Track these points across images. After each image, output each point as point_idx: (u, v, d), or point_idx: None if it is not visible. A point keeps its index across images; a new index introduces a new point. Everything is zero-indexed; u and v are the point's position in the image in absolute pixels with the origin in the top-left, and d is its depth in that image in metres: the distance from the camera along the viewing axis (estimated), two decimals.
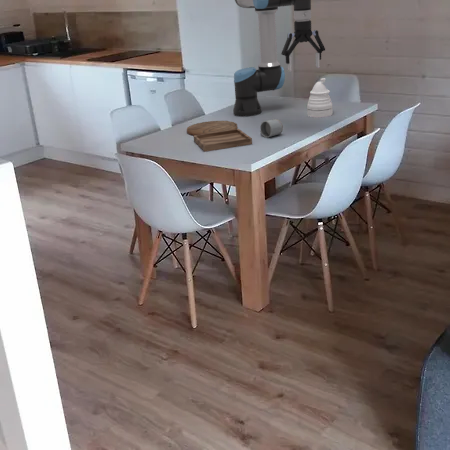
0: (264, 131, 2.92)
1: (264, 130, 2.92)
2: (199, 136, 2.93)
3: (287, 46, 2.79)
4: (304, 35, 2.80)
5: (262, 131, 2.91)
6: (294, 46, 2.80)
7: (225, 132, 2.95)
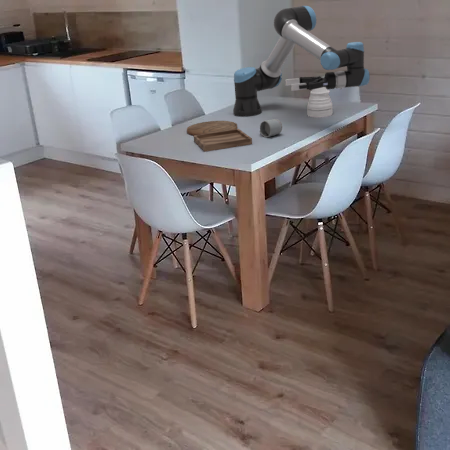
0: (263, 131, 2.92)
1: (263, 130, 2.92)
2: (199, 136, 2.93)
3: None
4: None
5: (261, 131, 2.92)
6: None
7: (225, 132, 2.95)
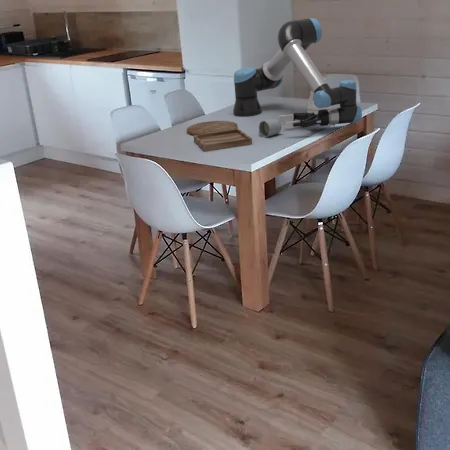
0: (262, 131, 2.93)
1: (262, 130, 2.93)
2: (199, 136, 2.93)
3: None
4: None
5: (260, 131, 2.92)
6: None
7: (225, 132, 2.95)
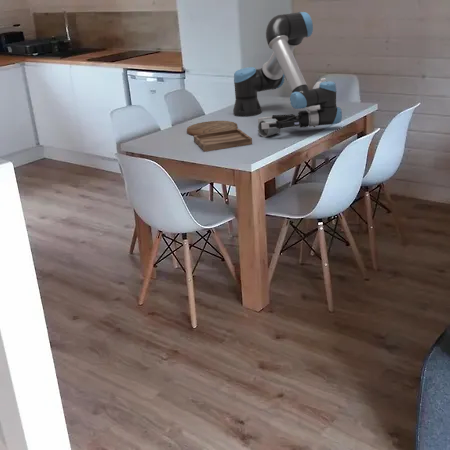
0: (262, 130, 2.93)
1: (262, 129, 2.93)
2: (199, 136, 2.93)
3: None
4: None
5: (260, 130, 2.92)
6: None
7: (225, 132, 2.95)
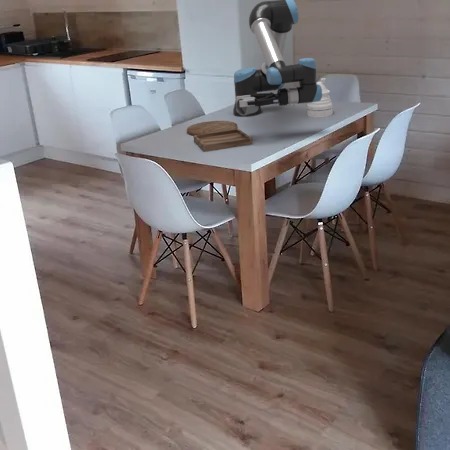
0: (240, 109, 2.84)
1: (240, 108, 2.85)
2: (199, 136, 2.93)
3: (265, 104, 2.76)
4: None
5: (238, 109, 2.84)
6: None
7: (225, 132, 2.95)
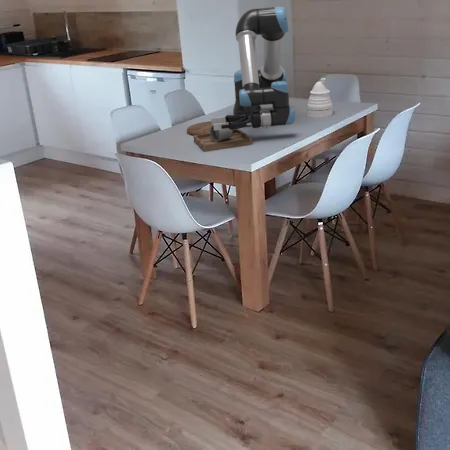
0: (214, 135, 2.87)
1: (214, 134, 2.87)
2: (199, 136, 2.93)
3: None
4: None
5: (212, 135, 2.87)
6: None
7: None
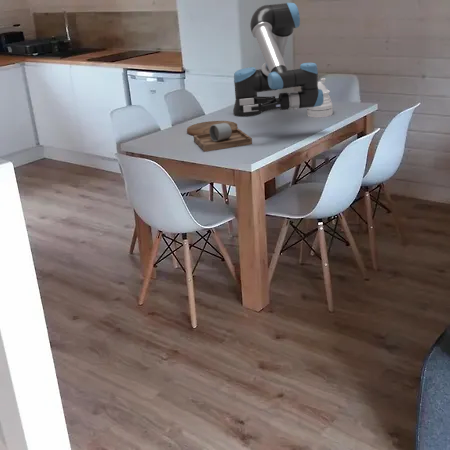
0: (213, 135, 2.88)
1: (213, 134, 2.88)
2: (199, 136, 2.93)
3: None
4: None
5: (211, 135, 2.87)
6: None
7: None
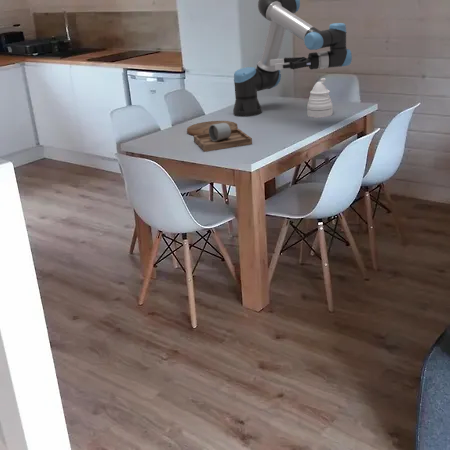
0: (213, 135, 2.88)
1: (213, 134, 2.88)
2: (199, 136, 2.93)
3: (299, 67, 2.86)
4: None
5: (210, 135, 2.87)
6: None
7: None
